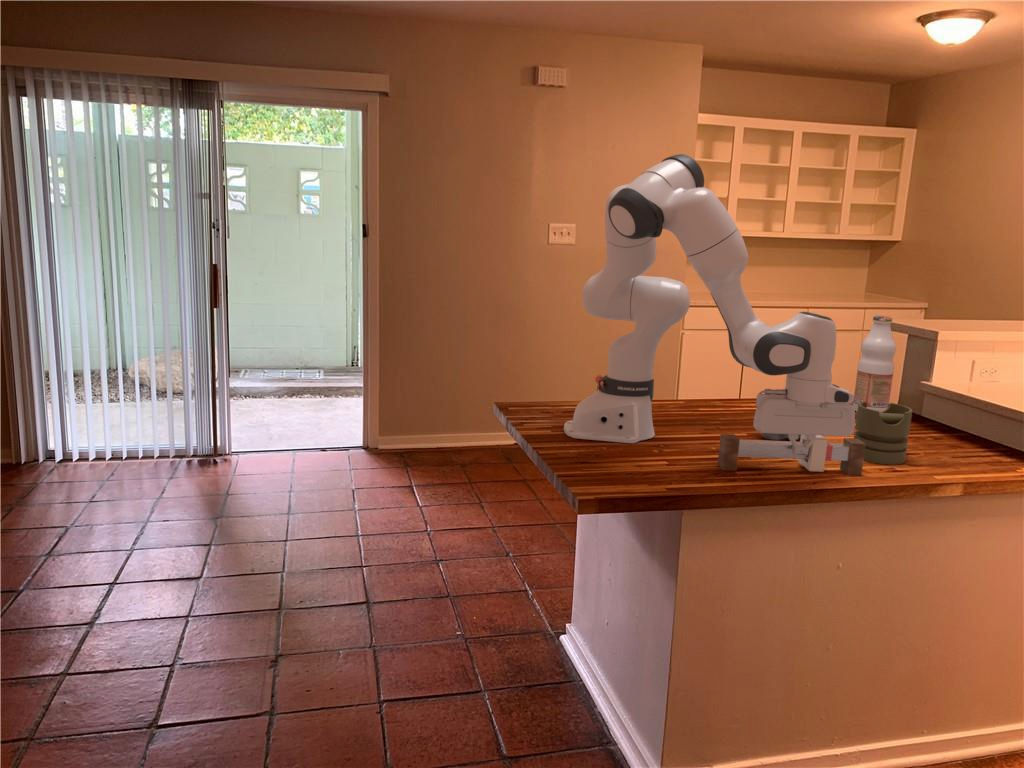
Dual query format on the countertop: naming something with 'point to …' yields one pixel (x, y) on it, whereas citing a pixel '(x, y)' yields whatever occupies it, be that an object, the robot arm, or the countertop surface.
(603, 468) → the countertop surface
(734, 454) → the posts
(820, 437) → the collar
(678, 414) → the countertop surface
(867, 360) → the fruit juice
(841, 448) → the steel rail
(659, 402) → the countertop surface
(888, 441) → the piston
